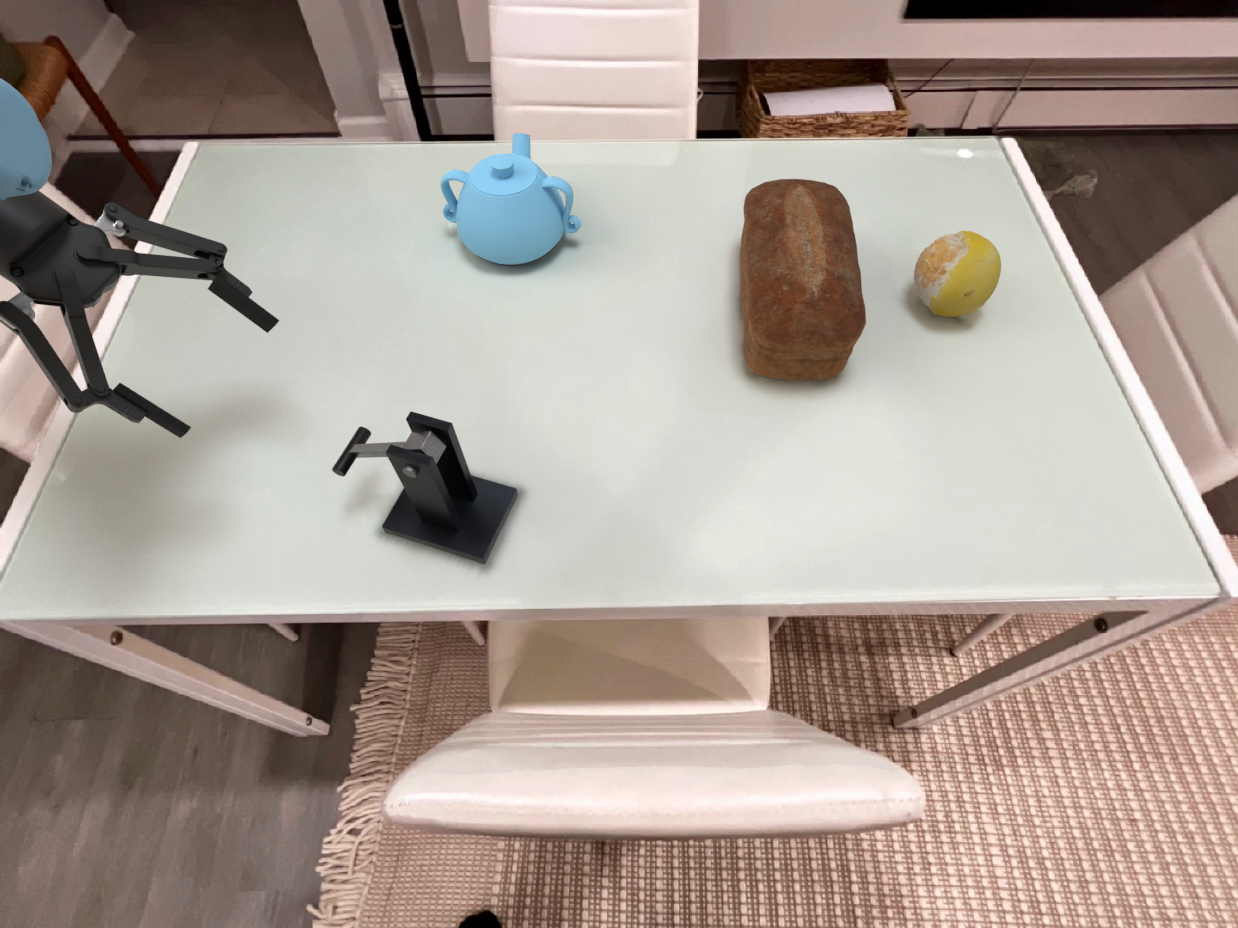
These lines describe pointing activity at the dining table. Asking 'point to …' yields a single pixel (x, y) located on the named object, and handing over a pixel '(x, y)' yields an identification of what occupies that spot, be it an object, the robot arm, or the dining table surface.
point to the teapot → (509, 207)
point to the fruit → (957, 273)
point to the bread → (799, 281)
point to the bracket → (446, 497)
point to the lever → (359, 448)
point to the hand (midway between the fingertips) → (232, 377)
